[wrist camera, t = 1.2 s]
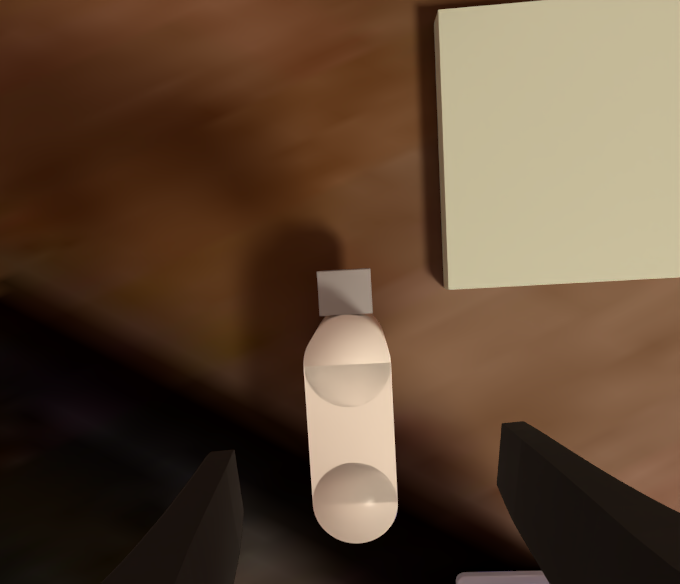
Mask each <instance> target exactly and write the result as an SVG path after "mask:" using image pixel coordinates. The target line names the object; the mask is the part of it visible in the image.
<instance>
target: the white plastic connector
mask: <svg viewBox="0 0 680 584" xmlns="http://www.w3.org/2000/svg"><path fill="white" fill-rule="evenodd" d="M317 283H318V298H319V314H320V316H325V317H324V319H323V320H322V321H321V323H320V325H319V326H318V328H317V330H316V332H315V333H314V335H313V337H312V339H311V340H310V342H309V344H308V346H307V348H306V351H305V354H304V361H303V367H304V381H305V396H306V411H307V426H308V440H309V455H310V470H311V485H312V500H313V509H314V513H315V516H316V518H317V521H318V522H319V524H320V525H321V527H322V528H323V529H324V530H325V531H326V532H327V533H328V534H330V535H331V536H333V537H334V538H336V539H338V540H341V541H344V542H348V543H365V542H369V541H372V540H374V539H376V538H378V537H380V536H381V535H383V534H384V533H385V532H386V531H387V530H388V529H389V528H390V527H391V525H392V523H393V522H394V519H395V517H396V514H397V509H398V497H397V476H396V456H395V436H394V416H393V395H392V375H391V359H390V354H389V350H388V347H387V344H386V340H385V337H384V333H383V330H382V327H381V325H380V323H379V321H378V320H377V319H376V318H375V317H374V316H373V315H372V314H371V313H373V312H372V293H371V274H370V268H362V269H344V270H327V271H318V272H317Z"/></svg>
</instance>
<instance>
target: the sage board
mask: <svg viewBox="0 0 680 584" xmlns="http://www.w3.org/2000/svg"><path fill="white" fill-rule="evenodd" d="M434 42H435V69H436V95H437V122H438V149H439V175H440V202H441V228H442V255H443V281H444V288H446V289H448V290H453V289H471V288H490V287H508V286H527V285H545V284H564V283H582V282H601V281H619V280H638V279H656V278H675V277H680V0H541V1H530V2H519V3H508V4H496V5H485V6H474V7H463V8H451V9H440V10H438V12H437V15H436V19H435V22H434Z"/></svg>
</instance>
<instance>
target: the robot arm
mask: <svg viewBox="0 0 680 584" xmlns="http://www.w3.org/2000/svg"><path fill="white" fill-rule="evenodd" d="M497 486H498V488H499V491H500V493H501V495H502V498H503V500H504V503H505V505H506V507H507V509H508V511H509V514H510V516H511V518H512V520H513V522H514V524H515V526H516V528H517V529H518V531H519V533H520V534H521V536H522V538H523V540H524V541H525V543H526V545H527V546H528V548H529V550H530V552H531V553H532V555H533V557H534V558H535V560H536V562H537V563H538V565H539V567H540V568H541V570H542V571H497V572H463V573H460V574H459V575H458V576H457V577H456V584H680V513H679V512H677V511H675V510H673V509H671V508H669V507H667V506H665V505H663V504H661V503H659V502H657V501H655V500H653V499H651V498H650V497H648V496H646V495H644V494H642V493H641V492H639V491H637V490H635V489H634V488H632V487H630V486H628V485H626V484H625V483H623V482H621V481H619V480H618V479H616V478H614V477H613V476H611V475H609V474H608V473H606V472H604V471H603V470H601V469H599V468H598V467H596V466H594V465H593V464H591V463H589V462H588V461H586V460H585V459H583V458H581V457H580V456H578V455H577V454H575V453H574V452H572V451H570V450H569V449H567V448H566V447H564V446H563V445H561V444H559V443H558V442H556V441H555V440H553V439H552V438H550V437H549V436H547V435H545V434H544V433H542V432H541V431H539V430H537V429H536V428H534V427H532V426H531V425H529V424H527V423H526V422H524V421H522V422H512V423H502V428H501V440H500V452H499V464H498V476H497ZM243 515H244V509H243V503H242V496H241V490H240V483H239V477H238V470H237V464H236V457H235V451H234V449H233V450H223V451H213V452H210V453H209V454H208V455H207V456H206V458H205V459H204V461H203V462H202V463H201V465H200V466H199V467H198V469H197V470H196V472H195V473H194V474H193V476H192V477H191V478H190V480H189V481H188V482H187V484H186V485H185V486H184V488H183V489H182V490H181V492H180V493H179V494H178V496H177V497H176V498H175V499H174V501H173V502H172V503H171V505H170V506H169V507H168V508H167V510H166V511H165V512H164V513H163V515H162V516H161V517H160V518H159V520H158V521H157V522H156V523H155V524H154V526H153V527H152V528H151V529H150V530H149V531H148V533H147V534H146V535H145V536H144V537H143V538H142V539H141V541H140V542H139V543H138V544H137V545H136V546H135V548H134V549H133V550H132V551H131V552H130V553H129V554H128V555H127V556H126V558H125V559H124V560H123V561H122V562H121V563H120V564H119V565H118V566H117V567H116V568H115V569H114V570H113V571H112V572H111V573H110V574H109V575H108V576H107V577H106V578H105V579H104V580H103V581H102V582H101V583H100V584H234V579H235V574H236V569H237V564H238V559H239V554H240V546H241V537H242V526H243Z"/></svg>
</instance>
